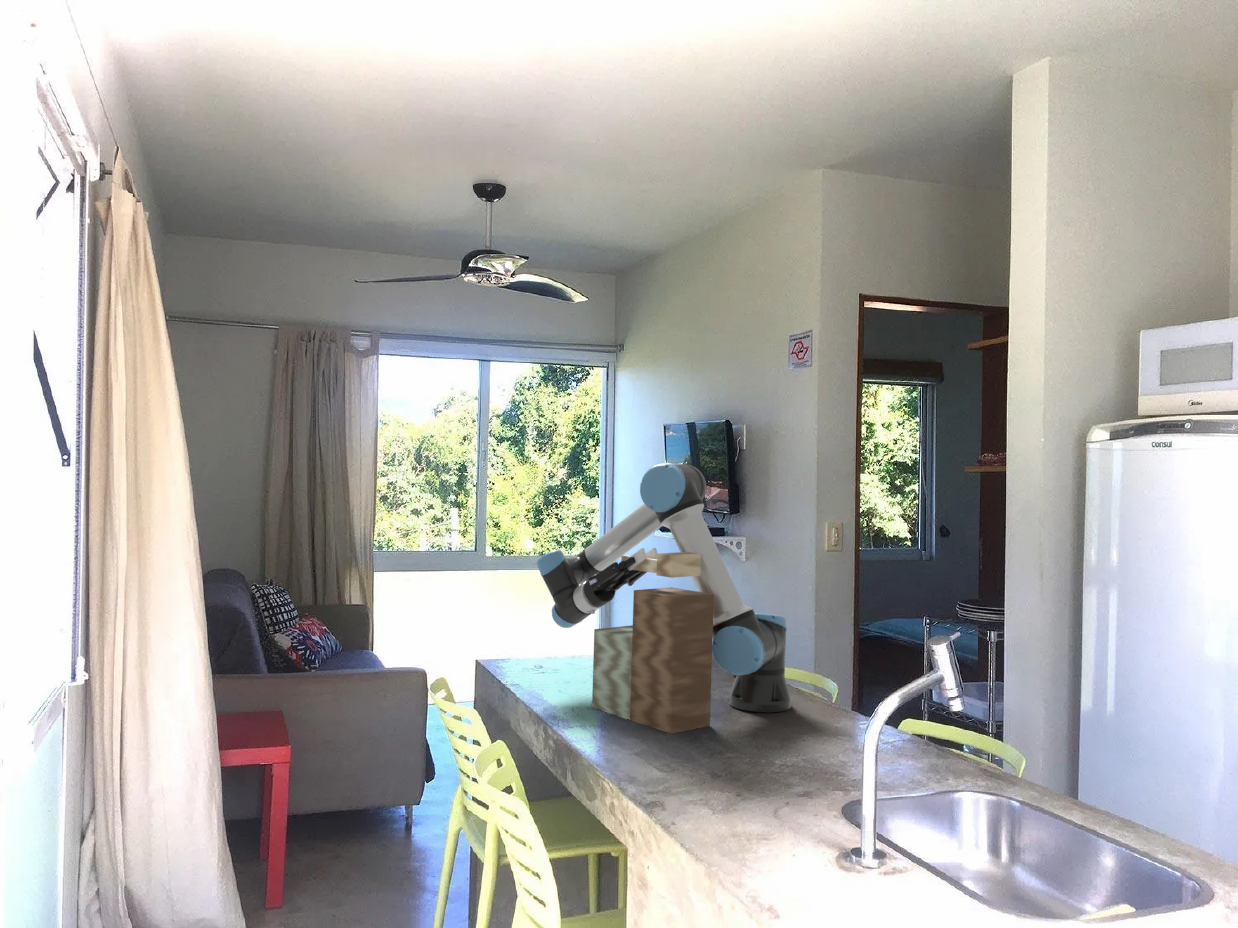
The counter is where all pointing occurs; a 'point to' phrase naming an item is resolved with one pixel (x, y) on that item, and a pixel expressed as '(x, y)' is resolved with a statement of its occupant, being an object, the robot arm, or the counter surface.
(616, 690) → the step stand
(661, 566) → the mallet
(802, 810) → the counter surface
